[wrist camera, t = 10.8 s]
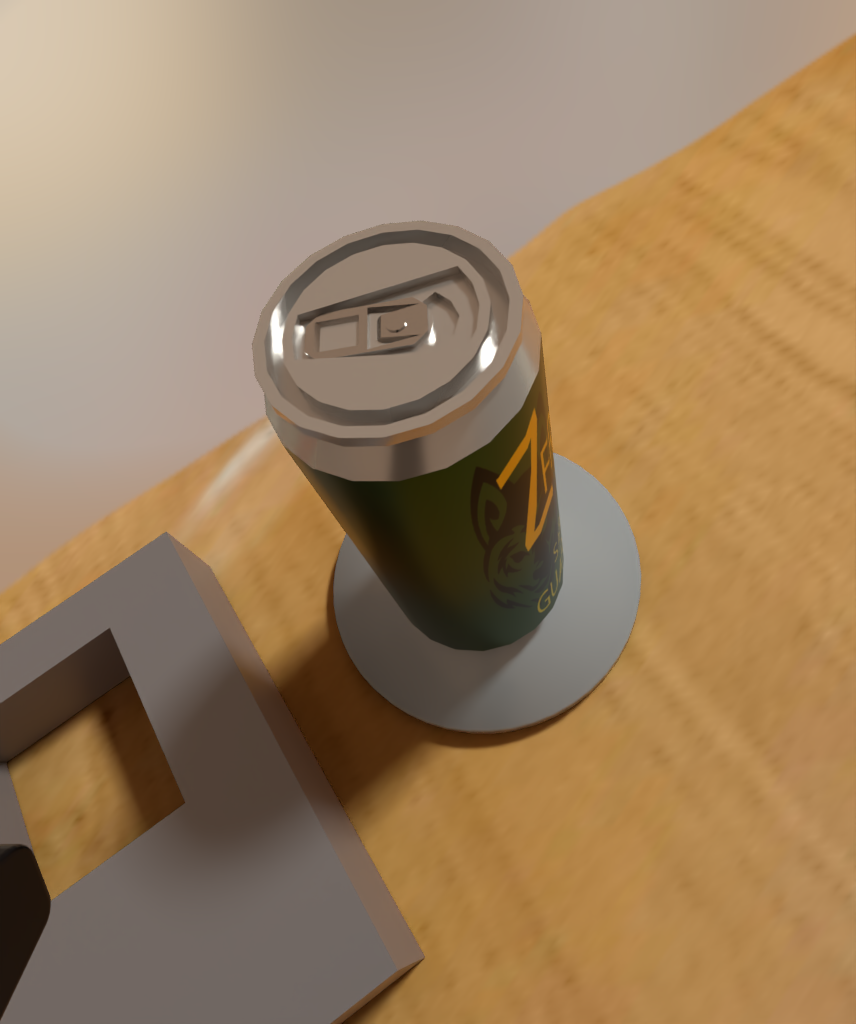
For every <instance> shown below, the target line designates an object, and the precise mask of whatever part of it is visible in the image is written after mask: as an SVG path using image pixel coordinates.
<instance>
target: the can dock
mask: <svg viewBox="0 0 856 1024" xmlns="http://www.w3.org/2000/svg"><path fill="white" fill-rule="evenodd" d="M129 676H131V678H132V680H133V683H134V685H135V687H136V690H137V692H138V694H139V697H140V699H141V701H142V704H143V706H144V708H145V710H146V713H147V715H148V717H149V720H150V722H151V724H152V727H153V729H154V731H155V734H156V736H157V738H158V741H159V743H160V745H161V748H162V750H163V752H164V755H165V757H166V759H167V761H168V764H169V766H170V768H171V771H172V773H173V775H174V778H175V780H176V782H177V785H178V787H179V789H180V792H181V794H182V796H183V799H184V801H185V803H184V804H183V805H182V806H180V807H179V808H178V809H176V810H175V811H174V812H172V813H171V814H169V815H168V816H167V817H165V818H164V819H163V820H161V821H160V822H158V823H157V824H156V825H154V826H153V827H152V828H150V829H149V830H147V831H146V832H145V833H143V834H142V835H141V836H139V837H138V838H137V839H135V840H134V841H132V842H131V843H130V844H128V845H127V846H126V847H124V848H123V849H121V850H120V851H119V852H117V853H116V854H115V855H113V856H112V857H111V858H109V859H108V860H106V861H105V862H104V863H102V864H101V865H100V866H98V867H97V868H95V869H94V870H93V871H91V872H90V873H89V874H87V875H86V876H85V877H83V878H82V879H80V880H79V881H78V882H76V883H75V884H74V885H72V886H71V887H69V888H68V889H67V890H65V891H64V892H63V893H61V894H60V895H59V896H57V897H56V898H54V899H53V900H52V901H51V909H50V915H49V919H48V921H47V924H46V926H45V928H44V930H43V933H42V935H41V937H40V939H39V941H38V943H37V945H36V947H35V949H34V951H33V953H32V956H31V958H30V960H29V962H28V964H27V966H26V968H25V970H24V972H23V974H22V977H21V979H20V981H19V983H18V985H17V987H16V989H15V991H14V993H13V995H12V998H11V1000H10V1002H9V1004H8V1006H7V1008H6V1010H5V1012H4V1014H3V1016H2V1018H1V1021H0V1024H341V1023H343V1022H344V1021H345V1020H346V1019H348V1018H349V1017H350V1016H351V1015H353V1014H354V1013H355V1012H356V1011H358V1010H359V1009H360V1008H362V1007H363V1006H364V1005H365V1004H367V1003H368V1002H369V1001H370V1000H372V999H373V998H374V997H375V996H377V995H378V994H379V993H380V992H382V991H383V990H384V989H386V988H387V987H388V986H389V985H391V984H392V983H393V982H394V981H396V980H397V979H398V978H399V977H401V976H402V975H403V974H405V973H406V972H407V971H408V970H410V969H411V968H412V967H413V966H415V965H416V964H417V963H418V962H420V961H421V960H422V959H423V958H425V956H424V954H423V952H422V951H421V949H420V947H419V945H418V943H417V941H416V940H415V938H414V936H413V934H412V932H411V931H410V929H409V927H408V925H407V923H406V922H405V920H404V918H403V916H402V914H401V912H400V911H399V909H398V907H397V905H396V903H395V902H394V900H393V898H392V896H391V894H390V892H389V891H388V889H387V887H386V885H385V883H384V882H383V880H382V878H381V876H380V874H379V873H378V871H377V869H376V867H375V865H374V863H373V862H372V860H371V858H370V856H369V854H368V853H367V851H366V849H365V847H364V845H363V844H362V842H361V840H360V838H359V836H358V834H357V833H356V831H355V829H354V827H353V825H352V824H351V822H350V820H349V818H348V816H347V815H346V813H345V811H344V809H343V807H342V805H341V804H340V802H339V800H338V798H337V796H336V795H335V793H334V791H333V789H332V787H331V786H330V784H329V782H328V780H327V778H326V776H325V775H324V773H323V771H322V769H321V767H320V766H319V764H318V762H317V760H316V758H315V756H314V755H313V753H312V751H311V749H310V747H309V746H308V744H307V742H306V740H305V738H304V737H303V735H302V733H301V731H300V729H299V727H298V726H297V724H296V722H295V720H294V718H293V717H292V715H291V713H290V711H289V709H288V708H287V706H286V704H285V702H284V700H283V698H282V697H281V695H280V693H279V691H278V689H277V688H276V686H275V684H274V682H273V680H272V679H271V677H270V675H269V673H268V671H267V669H266V668H265V666H264V664H263V662H262V660H261V659H260V657H259V655H258V653H257V651H256V650H255V648H254V646H253V644H252V642H251V640H250V639H249V637H248V635H247V633H246V631H245V630H244V628H243V626H242V624H241V622H240V620H239V619H238V617H237V615H236V613H235V611H234V610H233V608H232V606H231V604H230V602H229V601H228V599H227V597H226V595H225V593H224V591H223V590H222V588H221V586H220V584H219V582H218V581H217V579H216V577H215V575H214V573H213V572H212V570H211V568H210V566H209V565H207V564H206V563H205V562H204V561H202V560H201V559H200V558H199V557H197V556H196V555H195V554H194V553H192V552H191V551H190V550H189V549H187V548H186V547H185V546H184V545H182V544H181V543H180V542H179V541H177V540H176V539H175V538H174V537H172V536H171V535H170V534H169V533H167V532H165V533H164V534H162V535H161V536H159V537H158V538H156V539H155V540H153V541H152V542H150V543H149V544H147V545H146V546H144V547H143V548H141V549H140V550H139V551H137V552H136V553H134V554H133V555H131V556H130V557H128V558H127V559H125V560H124V561H122V562H121V563H119V564H118V565H117V566H115V567H114V568H112V569H111V570H109V571H108V572H106V573H105V574H103V575H102V576H100V577H99V578H97V579H96V580H94V581H93V582H92V583H90V584H89V585H87V586H86V587H84V588H83V589H81V590H80V591H78V592H77V593H75V594H74V595H72V596H71V597H69V598H68V599H67V600H65V601H64V602H62V603H61V604H59V605H58V606H56V607H55V608H53V609H52V610H50V611H49V612H47V613H46V614H45V615H43V616H42V617H40V618H39V619H37V620H36V621H34V622H33V623H31V624H30V625H28V626H27V627H25V628H24V629H22V630H21V631H20V632H18V633H17V634H15V635H14V636H12V637H11V638H9V639H8V640H6V641H5V642H3V643H2V644H0V844H23V845H26V846H28V847H29V848H30V849H31V850H32V846H31V843H30V840H29V836H28V833H27V830H26V826H25V823H24V820H23V816H22V813H21V810H20V806H19V803H18V800H17V796H16V793H15V790H14V787H13V783H12V780H11V777H10V773H9V770H8V767H7V763H6V762H8V761H9V760H11V759H12V758H14V757H15V756H16V755H18V754H19V753H21V752H22V751H24V750H25V749H26V748H28V747H29V746H31V745H32V744H34V743H35V742H36V741H38V740H39V739H41V738H42V737H44V736H45V735H46V734H48V733H49V732H51V731H52V730H54V729H55V728H56V727H58V726H59V725H61V724H62V723H63V722H65V721H66V720H68V719H69V718H71V717H72V716H73V715H75V714H76V713H78V712H79V711H81V710H82V709H83V708H85V707H86V706H88V705H89V704H91V703H92V702H93V701H95V700H96V699H98V698H99V697H101V696H102V695H103V694H105V693H106V692H108V691H109V690H111V689H112V688H113V687H115V686H116V685H118V684H119V683H121V682H122V681H123V680H125V679H126V678H128V677H129ZM32 852H33V850H32ZM33 854H34V853H33Z"/></svg>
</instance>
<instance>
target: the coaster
mask: <svg viewBox="0 0 856 1024" xmlns="http://www.w3.org/2000/svg"><path fill="white" fill-rule="evenodd" d="M553 456H554V466H555V476H556V486H557V496H558V506H559V516H560V526H561V536H562V546H563V556H564V563H563V584H562V587H561V589H560V592H559V594H558V597H557V599H556V602H555V604H554V607H553V609H552V610H551V611H550V612H549V613H548V615H547V616H546V617H545V618H544V619H543V620H542V622H541V623H540V624H539V625H538V626H537V628H536V629H535V630H533V631H531V632H530V633H528V634H527V635H525V636H523V637H522V638H520V639H519V640H517V641H515V642H514V643H512V644H510V645H506V646H502V647H498V648H494V649H490V650H486V651H471V650H455V649H453V648H450V647H448V646H445V645H443V644H440V643H438V642H435V641H433V640H430V639H429V638H428V637H427V636H426V635H425V634H423V633H422V632H421V631H420V630H419V629H418V628H416V627H415V626H414V625H413V624H412V623H411V622H410V621H409V619H408V618H407V617H406V615H405V614H404V613H403V611H402V610H401V608H400V607H399V606H398V604H397V603H396V601H395V600H394V599H393V597H392V596H391V594H390V593H389V592H388V590H387V589H386V588H385V586H384V585H383V583H382V582H381V581H380V579H379V578H378V576H377V575H376V574H375V572H374V571H373V569H372V568H371V567H370V565H369V564H368V563H367V561H366V560H365V558H364V557H363V556H362V554H361V553H360V551H359V550H358V549H357V547H356V546H355V544H354V543H353V542H352V540H351V539H350V538H349V536H348V535H347V533H346V536H345V538H344V541H343V543H342V546H341V548H340V551H339V556H338V560H337V564H336V568H335V576H334V585H333V592H334V609H335V615H336V622H337V625H338V629H339V632H340V635H341V638H342V641H343V643H344V645H345V648H346V650H347V652H348V654H349V656H350V658H351V660H352V661H353V663H354V664H355V666H356V667H357V669H358V670H359V672H360V673H361V675H362V676H363V677H364V678H365V679H366V680H367V681H368V683H369V684H370V685H371V686H372V687H373V688H374V689H375V690H376V691H377V692H379V693H380V694H381V695H382V696H383V697H384V698H386V699H387V700H388V701H389V702H390V703H391V704H393V705H394V706H395V707H397V708H399V709H400V710H402V711H403V712H405V713H406V714H408V715H410V716H412V717H414V718H416V719H418V720H420V721H423V722H425V723H427V724H429V725H433V726H436V727H439V728H443V729H446V730H450V731H456V732H463V733H470V734H495V733H503V732H511V731H516V730H520V729H524V728H527V727H531V726H535V725H537V724H540V723H542V722H544V721H547V720H549V719H552V718H554V717H556V716H558V715H560V714H561V713H563V712H565V711H566V710H568V709H570V708H571V707H573V706H575V705H576V704H577V703H578V702H580V701H581V700H582V699H584V698H585V697H586V696H587V695H589V694H590V693H591V692H592V691H593V690H594V689H595V688H596V687H597V686H598V685H599V684H600V683H601V682H602V681H603V680H604V679H605V678H606V676H607V675H608V674H609V672H610V671H611V669H612V668H613V667H614V665H615V664H616V663H617V661H618V660H619V658H620V656H621V654H622V652H623V650H624V648H625V646H626V645H627V643H628V640H629V638H630V635H631V632H632V629H633V626H634V624H635V620H636V615H637V610H638V605H639V599H640V585H641V571H640V561H639V554H638V550H637V546H636V542H635V538H634V535H633V533H632V530H631V528H630V525H629V523H628V520H627V519H626V517H625V515H624V513H623V512H622V510H621V508H620V506H619V505H618V503H617V502H616V501H615V499H614V498H613V497H612V496H611V494H610V493H609V492H608V490H607V489H606V488H605V487H604V486H603V485H602V484H601V483H600V482H599V481H598V480H597V479H596V478H594V477H593V476H592V475H591V474H590V473H588V472H587V471H585V470H584V469H583V468H581V467H580V466H579V465H577V464H575V463H574V462H572V461H570V460H568V459H566V458H565V457H563V456H561V455H558V454H556V453H553Z"/></svg>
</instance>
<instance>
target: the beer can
mask: <svg viewBox="0 0 856 1024" xmlns="http://www.w3.org/2000/svg"><path fill="white" fill-rule="evenodd" d="M252 349H253V361H254V372H255V377H256V379H257V381H258V383H259V385H260V386H261V388H262V390H263V392H264V396H265V407H266V415H267V417H268V419H269V421H270V422H271V424H272V426H273V428H274V430H275V432H276V433H277V435H278V437H279V439H280V441H281V442H282V444H283V446H284V447H285V449H286V450H287V451H288V453H289V454H290V456H291V457H292V458H293V460H294V461H295V463H296V464H297V465H298V467H299V468H300V469H301V471H302V472H303V474H304V475H305V476H306V478H307V479H308V481H309V482H310V483H311V485H312V486H313V488H314V489H315V490H316V492H317V493H318V494H319V496H320V497H321V499H322V500H323V501H324V503H325V504H326V506H327V507H328V508H329V510H330V511H331V513H332V514H333V515H334V517H335V518H336V519H337V521H338V522H339V524H340V525H341V526H342V528H343V529H344V531H345V532H346V533H347V535H348V536H349V538H350V539H351V540H352V542H353V543H354V544H355V546H356V547H357V549H358V550H359V551H360V553H361V554H362V556H363V557H364V558H365V560H366V561H367V563H368V564H369V565H370V567H371V568H372V569H373V571H374V572H375V574H376V575H377V576H378V578H379V579H380V581H381V582H382V583H383V585H384V586H385V588H386V589H387V590H388V592H389V593H390V594H391V596H392V597H393V599H394V600H395V601H396V603H397V604H398V606H399V607H400V608H401V610H402V611H403V613H404V614H405V615H406V617H407V618H408V619H409V621H410V622H411V623H412V624H413V625H414V626H415V627H416V628H418V629H419V630H420V631H421V632H422V633H423V634H425V635H426V636H427V637H428V638H429V639H430V640H433V641H435V642H438V643H440V644H443V645H445V646H448V647H450V648H453V649H455V650H471V651H486V650H490V649H494V648H498V647H502V646H506V645H510V644H512V643H514V642H515V641H517V640H519V639H520V638H522V637H523V636H525V635H527V634H528V633H530V632H531V631H533V630H535V629H536V628H537V626H538V625H539V624H540V623H541V622H542V620H543V619H544V618H545V617H546V616H547V615H548V613H549V612H550V611H551V610H552V609H553V607H554V604H555V602H556V599H557V597H558V594H559V592H560V589H561V587H562V584H563V563H564V556H563V546H562V536H561V526H560V516H559V506H558V496H557V486H556V476H555V466H554V456H553V447H552V437H551V427H550V417H549V407H548V397H547V387H546V377H545V367H544V357H543V347H542V337H541V332H540V329H539V326H538V324H537V321H536V318H535V315H534V313H533V310H532V307H531V305H530V302H529V300H528V299H527V298H526V297H525V296H524V295H523V293H522V291H521V288H520V285H519V282H518V279H517V277H516V274H515V271H514V268H513V266H512V264H511V263H510V262H509V261H508V260H507V259H506V258H505V257H504V256H503V255H502V254H501V253H500V252H499V251H498V250H497V249H496V248H495V247H494V246H493V244H492V243H491V242H489V241H488V240H486V239H483V238H481V237H479V236H477V235H475V234H473V233H471V232H469V231H466V230H464V229H463V228H460V227H458V226H452V225H446V224H439V223H433V222H426V221H413V222H402V223H390V224H382V225H379V226H376V227H373V228H369V229H366V230H363V231H360V232H356V233H353V234H350V235H347V236H344V237H342V238H341V239H339V240H337V241H335V242H334V243H332V244H330V245H328V246H326V247H325V248H323V249H321V250H319V251H318V252H316V253H314V254H312V255H310V256H309V257H308V258H307V259H306V260H305V261H304V262H303V263H301V264H300V265H299V266H298V267H297V268H296V269H295V270H294V271H293V272H292V273H290V275H288V276H287V277H286V278H285V279H284V280H283V281H282V282H281V283H280V285H279V286H278V288H277V289H276V291H275V292H274V294H273V295H272V297H271V298H270V300H269V301H268V303H267V304H266V306H265V307H264V309H263V310H262V312H261V315H260V319H259V322H258V326H257V329H256V333H255V336H254V340H253V343H252Z"/></svg>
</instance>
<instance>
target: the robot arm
mask: <svg viewBox="0 0 856 1024" xmlns="http://www.w3.org/2000/svg"><path fill="white" fill-rule="evenodd" d="M50 909H51V899H50V895H49V892H48V890H47V887H46V885H45V882H44V879H43V877H42V874H41V872H40V869H39V866H38V864H37V861H36V859H35V856H34V854H33V852H32V850H31V849H30V848H29V847H28V846H26V845H23V844H0V1021H1V1018H2V1016H3V1014H4V1012H5V1010H6V1008H7V1006H8V1004H9V1002H10V1000H11V998H12V995H13V993H14V991H15V989H16V987H17V985H18V983H19V981H20V979H21V977H22V974H23V972H24V970H25V968H26V966H27V964H28V962H29V960H30V958H31V956H32V953H33V951H34V949H35V947H36V945H37V943H38V941H39V939H40V937H41V935H42V933H43V930H44V928H45V926H46V924H47V921H48V919H49V915H50Z"/></svg>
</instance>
